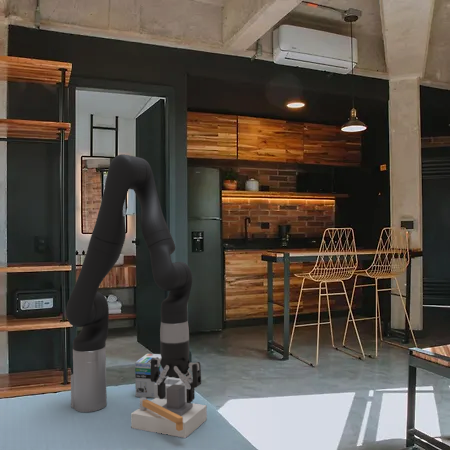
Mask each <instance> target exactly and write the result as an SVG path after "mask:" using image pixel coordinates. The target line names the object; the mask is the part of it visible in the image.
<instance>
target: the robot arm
mask: <svg viewBox="0 0 450 450" xmlns="http://www.w3.org/2000/svg"><path fill="white" fill-rule="evenodd" d="M104 183H105V184H104V188H103V189H104V190H103V194H102V199H101V202H100V206H99V209H98V210H99V211H98V214H97V216H96V220H95V224H94V228H92V229H93V230H92V232H91V235H90V240H89V242H88V246H87V250H86V253H85V255H84V259H83V262H82V265H81V269H80V271H79V273H78V274H79V275H78V277H77V280H76V282H75V284H74V287H73V289H72V291H71V293H70V295H69V299H68V300H67V304H66V308H65V316H66V319H67V321H68V323H69V324H70V325H71V326H73V327H74V328H75V327H76V328H81V330H80V332H79V333H78V334H76V336H75V338H74V339H73V340H72V363H73V364H72V365H73V366H72V369H73V373H72V374H70V405H71V406H70V407H71V408H72V409H74V411H77V412H81V413H91V412H95V411H99V410H102V409H104V408H105V407H106V406H107V404H108V403H107V358H106V357H107V356H106V354H107V353H106V352H107V351H106V342H107V339H108V335H109V322H110V321H109V316H110V314H109V313H110V311H109V304H108V300H107V298H106V296H105V295H104V294H103V293H101V292H99V291H98V289H99V287H100V286H101V284H102V282H103V281H104V280H105V278H106V276H107V275H108V274H109V273H110V272H111V270H112V269H113V267H115V265H116V263H117V262H118V261H119V259H120V256H121V254H122V250H123V248H124V244H125V241H126V235H127V234H126V233H127V231H126V230H127V229H126V223H125V216H124V206H125V202H126V197H127V195H128V192H129V190H132V191H133V192H134V194H135V196H136V197H137V199H138V202H139V204H140V208H141V210H140V212H141V214H140V215H141V216H140V228H141V229H140V230H141V233H142V236H143V240H144V241H145V244H146V247H147V249H148V251H149V254H150V264H151V271H152V277H153V280H154V282H155V284H156V286H157V287H158V288H159V289H161V290H162V291H166V292H169V293H168V296H167V297H166V298H165V299H163V300H162V302H161V304H160V329H159V332H160V333H159V334H160V335H159V337H160V338H159V339H160V340H159V341H160V354H161V357H162V358H161V359H159V358H158V357H157V358H154V359H152V360H151V381H152V382H155V383H156V384H157V386H158V396H159V399H163V398H165V396H166V385H165V383H164V382H165V380H166V379H167V377H171V378H179V379H181V381H182V382H184V384H185V385H186V387H187V389H186V391H187V403H192V402H193V401H194V400H195V398H196V397H195V396H196V395H195V389H196V388H198V387H199V386H201V385H202V369H201V368H202V367H201V366H202V365H201V363H200V361H196V362H191V361H190V359H189V358H190V330H189V329H190V328H189V323H188V322H189V320H188V318H189V316H188V313H189V312H188V311H189V310H188V304H189V299H190V297H191V291H192V290H191V289H192V285H193V274H192V270H191V267H190V266H189V265H188V264H187V263H186V262H182V261H177V262H175V261H174V262H172V258H171V255H172V254H173V253H175V251H176V244H175V242H174V241H175V240H174V239H173V237H172V236H173V235H172V234H171V231H170V228H169V227H168V224H167V222H166V219H165V216H164V213H163V210H162V207H161V202H160V199H159V195H158V191H157V186H156V182H155V177H154V173H153V170H152V167H151V165H150V163H149V162H148V161H147V160H146V159H144V158H143V157H138V156H133V155H130V154H123V153H121V154H118V155H116V156H114V158H113V159H112V160H111V162H110V164H109V167H108V169H107V173H106V179H105V182H104ZM160 365H161V366H162V368H163V371H162V373H161V374H160V376H159V366H160ZM189 369H190V371H191V372H190V371H189Z"/></svg>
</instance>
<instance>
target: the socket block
mask: <svg viewBox="0 0 450 450" xmlns="http://www.w3.org/2000/svg"><path fill="white" fill-rule="evenodd" d="M150 401H151V402H153V403H155V404H157V405H159V406H161V407H162V406H164V405H165V404H167V399H159V398H155V399H154V398H153V399H151V400H150ZM207 408H208V407H207V405H205V404H199V403H193V407H192V408H191V409H190V410H188V411H187V412H186V413H184V414H183V415H182V416H181V417H183V430H180V431H178V430H176V423H174V422H172V421H170V420H169V419H167V418H165V417H163V416H161V415H159V414H157V413H155V412H153V411H151V410H149V409H146V410H140V407H139V408H138V409H136V410H134V411H133V412H131V413H130V420H131V422H130V424H131V429H133V430H134V429H135V430H140V431H146V432H152V433H156V432H157V433H156V434H161V433H162V434H161V435H166V434H168V436H172V437H179V438H182V439H186V438H188V437H189V436H190V435H191V434H192V433H194V432H195V430H197V429H198V428H199V427H200V426H201V425H202V424H203V423H205V422H206V421H207V420H208V418H207V417H208V413H207V412H208V411H207Z"/></svg>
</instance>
